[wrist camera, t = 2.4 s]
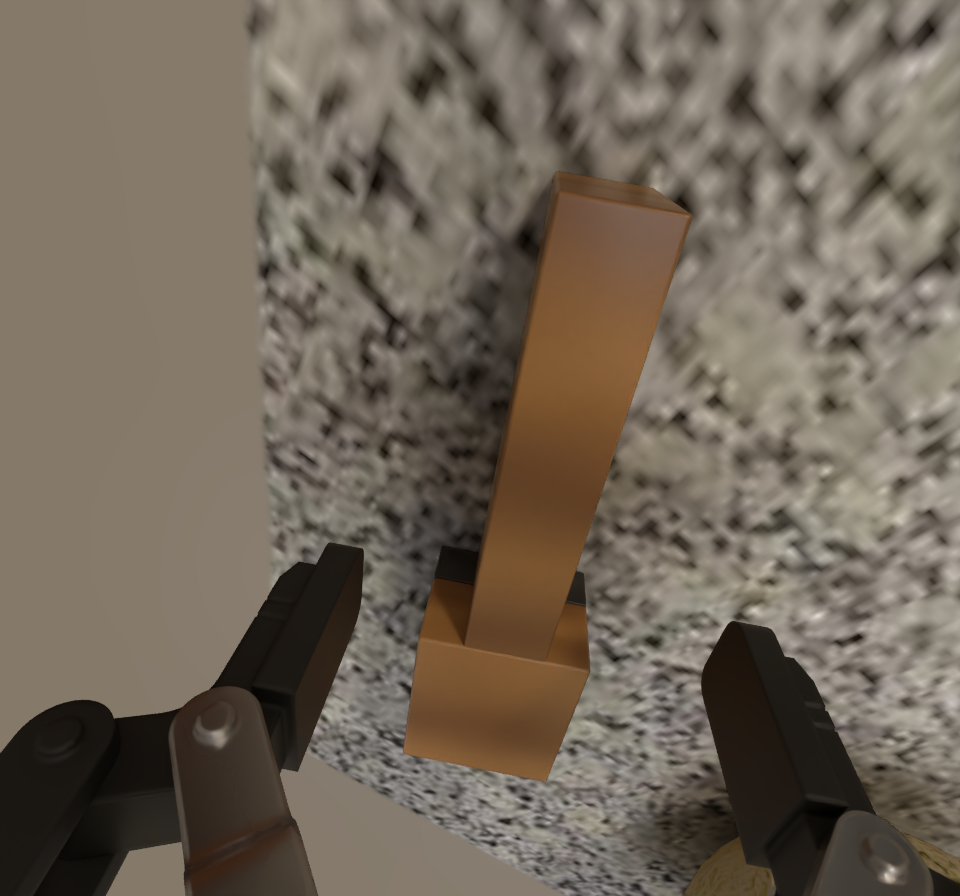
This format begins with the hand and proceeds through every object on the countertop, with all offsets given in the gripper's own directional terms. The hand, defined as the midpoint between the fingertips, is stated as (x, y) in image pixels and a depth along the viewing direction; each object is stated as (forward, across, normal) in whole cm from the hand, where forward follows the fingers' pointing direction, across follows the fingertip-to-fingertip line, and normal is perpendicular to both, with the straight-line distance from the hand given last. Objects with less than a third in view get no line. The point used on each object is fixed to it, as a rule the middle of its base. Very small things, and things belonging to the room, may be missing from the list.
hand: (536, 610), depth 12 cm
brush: (+6, 0, +1) cm, 6 cm away
